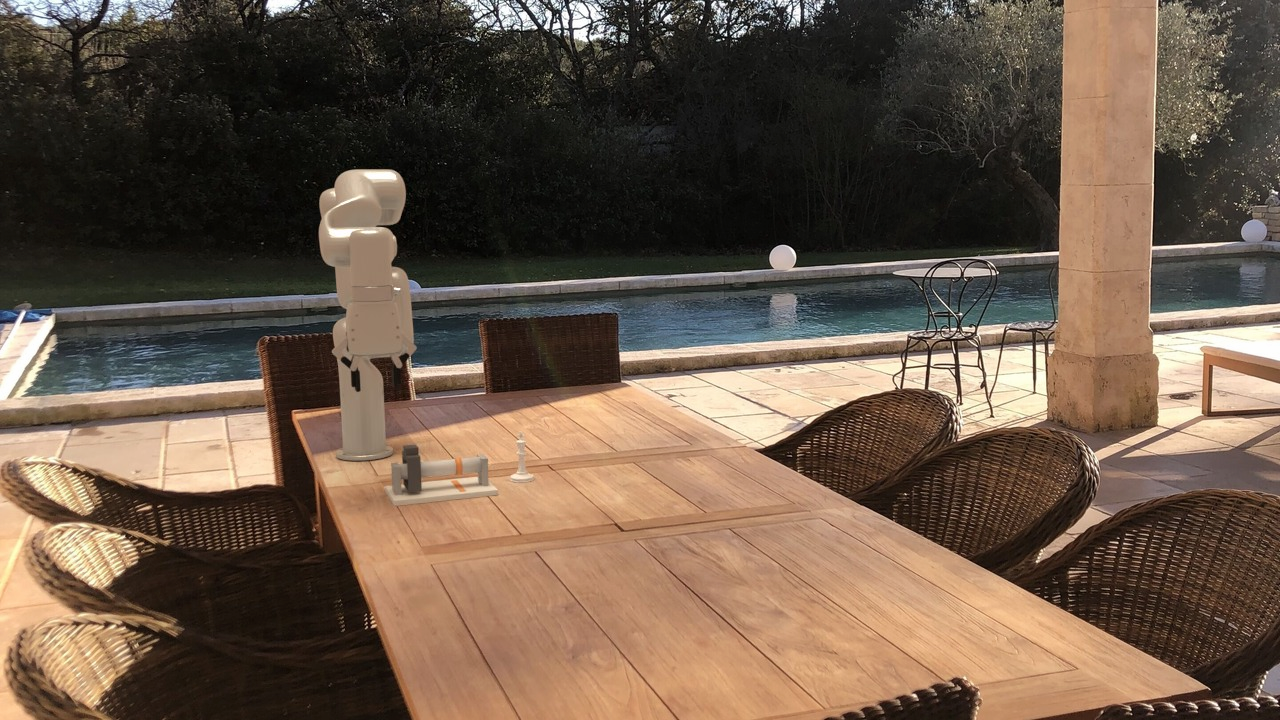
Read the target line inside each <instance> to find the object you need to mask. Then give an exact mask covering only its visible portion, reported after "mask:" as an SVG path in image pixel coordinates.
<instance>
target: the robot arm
mask: <svg viewBox="0 0 1280 720" xmlns="http://www.w3.org/2000/svg"><path fill="white" fill-rule="evenodd" d="M406 192H407V191H406V185H405V181H404V178H403V177H402V176H401V174H400V173H399V172H397V171H395V170H394V169H362V168H361V169H350V170H346V171H344V172H342V173H341V174H340V175H339V176H337V178H336V180H335V182H334V187H332V188H328V189H326V190H324V191H323V192H322V193H321V194H320V197H319V212H320V216H321V220H320V224H319V227H318V239H319V240H318V241H319V250H320V254H321V257H322V260H323V261H324V263H325V264H326V265H328V266H331V267H334V269H335V283H336V295H337V300H338V302H339V303H338V304H339V305H340V306H341V307H342V308H343V309H345V310H346V313H345V314H346V315H345V317H343V318H341V319H339V320H337V322H336V323H335V324H334V325H333V328H332V339H333V344H334V345H333V346H334V347H333V349H332V350H331V353H332V354H333V356H334V357H336V360H337V366H338V367H337V369H338V378H339V379H338V380H339V397H340V398H339V399H340V414H341V415H340V416H341V417H340V419H341V436H342V437H341V439H342V447H340V448H339V449H337V450H336V451H335V457H336V458H337V459H339V460H343V461H351V462H352V461H353V462H354V461H355V462H359V461H360V462H361V461H371V460H372V461H373V460H379V459H384V458H387V457H390V456H392V455H393V453H394V448H393V447H392V446H390V445H387V441H386V440H387V437H386V419H385V418H386V416H385V415H386V414H385V394H384V378H383V374H382V373H381V372H380V370H379V369H378V368H377V367H376V366H375V365H374V364H373V363H372V362H371V359H377V358H378V359H379V358H390V360H391V361H392V366H391V369H390V370H391V371H390V374H391V387H392V388H393V389H394V390H398V389H399V385H401V384H402V378H401V376H402V374H401V373H402V372H401V369H402V367H403V365H404V364H405V363H406V362H407V361H408V360H409V359H410V357H412V355H413V354H414V353H415V352H416V350H417V347H418V346H416V344H415V343H414V341H415V339H414V325H413V323H414V322H413V310H412V297H411V287H410V281H409V278H408V275H407V273H406V272H405V270H404V269H403V268H400V267H397V266H392V262H393V260H394V259H395V257H396V256H397V253H398V244H397V237H396V236H395V235H394V234H393V232H392V231H391V229H389V228H387V227H383V226H391V225H394V224H395V225H396V224H397V223H399V221H400V220H401V216H402V213H403V211H404V207H405V204H406V197H407V196H406V195H407V193H406ZM381 226H382V227H381Z"/></svg>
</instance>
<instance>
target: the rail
mask: <svg viewBox="0 0 1280 720" xmlns="http://www.w3.org/2000/svg"><path fill="white" fill-rule="evenodd" d="M390 467H391V469H390V470H391V485H384V492H385V494H386V495H387V497H388V499H389V500H390V502H391V503H392V505H393V506H394V507H399V506H406V505H417V504H426V503H434V502H435V503H436V502H445V501H453V500H464V499H472V498H473V499H474V498H481V497H483V498H484V497H492V496H498V495H499V490H498V488H496V486H494V484H492V482H491V481H489V458H488V457H487V456H486V455H485V454H477V455H476V456H474V457H473V456H472V457H463V458H462V457H456V458H455V457H454V458H453V459H452V458H450V459H442V460H430V461H421V479H423V478H432V477H441V476H443V477H444V476H452V475H455V476H460V475H463V474H464V475H465V474H472V473H473V474H474V473H477V476H472V477H462V478H454V479H453V478H451V479H442V480H434V481H433V480H431V481H423V482H422V481H421V484H422V491H421V492H411V493H409V492H408V490H407V489H406V487H405V486H404V485H403V483H402V481H403V479H408V471H407V464H403V463H398V461H395V462H391V463H390Z"/></svg>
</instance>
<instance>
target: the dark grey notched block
mask: <svg viewBox="0 0 1280 720" xmlns="http://www.w3.org/2000/svg"><path fill="white" fill-rule="evenodd" d="M402 449H403V450H401V455H402V456H401V458H402V460H401V461H402V463H401V464H407V471H408V479H403V480H402V484H403V485H404V486H405V487H406V489H407V490H408V492H409V493H411V492H421V491H422V484H421V482H422V478H421V462H422V461H421V456H420V453H419V447H418V445H417V444H405V445H403V448H402Z"/></svg>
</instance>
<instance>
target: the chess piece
mask: <svg viewBox="0 0 1280 720" xmlns="http://www.w3.org/2000/svg"><path fill="white" fill-rule="evenodd" d="M516 437H517V438H519V439H518V440H516V446H517V448H518V451H516V453H515V454H516V455H518V465H517V466H518V467H517V471H516V473H513V474H511V475H510V477H509V478H510V479H509V480H510V481H511V482H513V483H520V484H521V483H530V482H532V481H534V480H535V475H534V474H532V473H529V471H528V470H527V467H526V462H525V455H527V451H526V450H525V447H526V443H527V441H526V440H525V439H523V438H526V434H523V431H519V434H516Z"/></svg>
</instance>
